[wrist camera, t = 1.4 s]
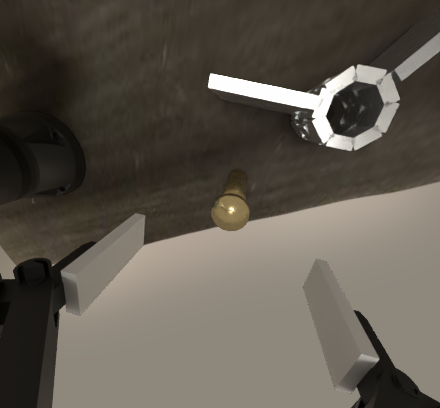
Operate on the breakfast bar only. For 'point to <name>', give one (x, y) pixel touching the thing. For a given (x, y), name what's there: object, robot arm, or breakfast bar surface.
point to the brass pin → (232, 204)
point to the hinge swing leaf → (389, 67)
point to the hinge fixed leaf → (323, 104)
